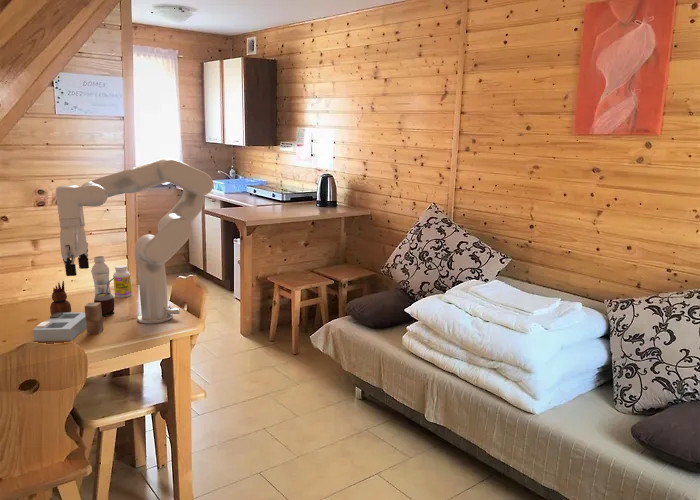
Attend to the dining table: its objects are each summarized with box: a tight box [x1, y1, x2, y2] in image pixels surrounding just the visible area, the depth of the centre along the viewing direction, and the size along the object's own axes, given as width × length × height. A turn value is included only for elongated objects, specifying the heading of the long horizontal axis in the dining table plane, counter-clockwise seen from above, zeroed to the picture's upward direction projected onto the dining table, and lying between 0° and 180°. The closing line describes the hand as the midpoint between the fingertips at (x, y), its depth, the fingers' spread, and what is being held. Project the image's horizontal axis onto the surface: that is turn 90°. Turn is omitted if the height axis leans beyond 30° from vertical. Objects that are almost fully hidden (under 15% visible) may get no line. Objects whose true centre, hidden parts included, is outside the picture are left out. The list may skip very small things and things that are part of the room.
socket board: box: [32, 311, 87, 342], centre depth 199 cm, size 12×18×5 cm, turn 3°
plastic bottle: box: [90, 255, 112, 299], centre depth 225 cm, size 6×7×20 cm
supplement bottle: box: [112, 264, 133, 299], centre depth 240 cm, size 7×7×13 cm
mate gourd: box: [93, 277, 115, 318], centre depth 215 cm, size 8×8×15 cm
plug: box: [84, 302, 104, 335], centre depth 198 cm, size 4×4×10 cm
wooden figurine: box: [49, 280, 72, 316], centre depth 209 cm, size 7×6×15 cm
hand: (78, 272), depth 194 cm, fingers open, 9 cm apart
